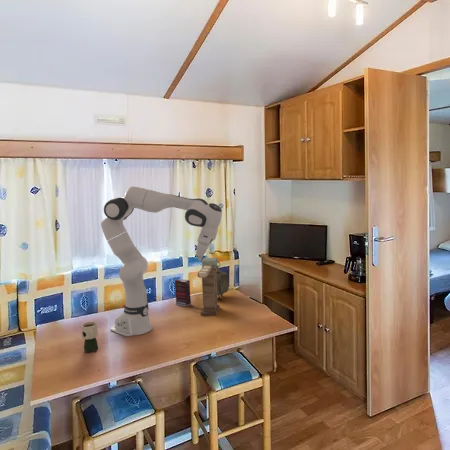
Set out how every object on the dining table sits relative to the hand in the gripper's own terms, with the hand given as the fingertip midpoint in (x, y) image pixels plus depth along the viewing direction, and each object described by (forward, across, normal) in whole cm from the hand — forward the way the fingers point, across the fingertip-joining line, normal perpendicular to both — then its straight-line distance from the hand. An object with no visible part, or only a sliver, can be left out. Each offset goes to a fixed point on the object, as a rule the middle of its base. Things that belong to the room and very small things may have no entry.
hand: (202, 255), depth 200 cm
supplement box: (+51, -18, -6) cm, 54 cm away
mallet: (+16, -11, +3) cm, 20 cm away
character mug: (+42, +47, -33) cm, 71 cm away
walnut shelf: (+41, -9, +12) cm, 43 cm away
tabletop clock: (+48, -32, +13) cm, 59 cm away
